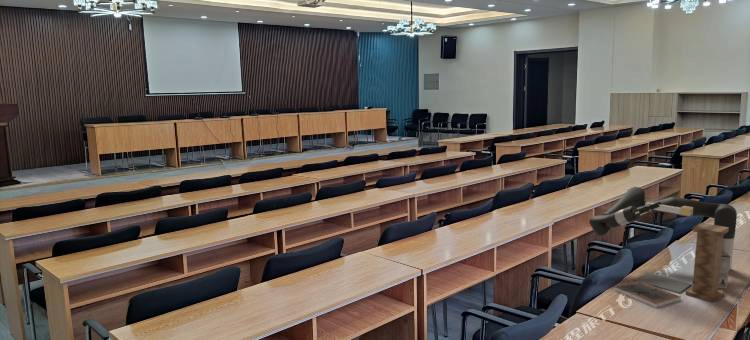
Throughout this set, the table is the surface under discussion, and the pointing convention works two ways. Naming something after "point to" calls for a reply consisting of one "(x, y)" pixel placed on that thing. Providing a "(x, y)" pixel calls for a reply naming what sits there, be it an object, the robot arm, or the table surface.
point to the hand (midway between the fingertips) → (659, 204)
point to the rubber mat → (663, 282)
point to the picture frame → (647, 293)
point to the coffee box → (724, 270)
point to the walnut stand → (707, 262)
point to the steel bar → (674, 209)
